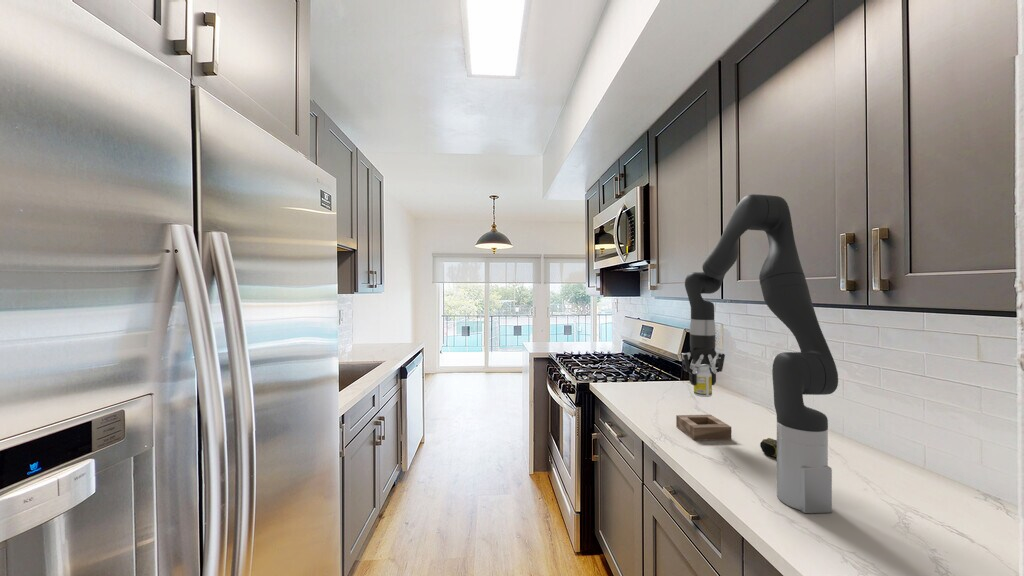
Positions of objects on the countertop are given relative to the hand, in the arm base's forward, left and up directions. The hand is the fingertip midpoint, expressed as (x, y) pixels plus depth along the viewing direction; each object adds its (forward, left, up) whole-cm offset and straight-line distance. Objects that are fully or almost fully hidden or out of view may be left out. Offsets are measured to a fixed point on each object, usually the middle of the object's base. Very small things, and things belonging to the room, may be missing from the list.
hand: (702, 384), depth 131 cm
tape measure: (-17, -12, -16) cm, 26 cm away
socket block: (0, 0, -16) cm, 16 cm away
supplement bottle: (0, 0, -4) cm, 4 cm away
